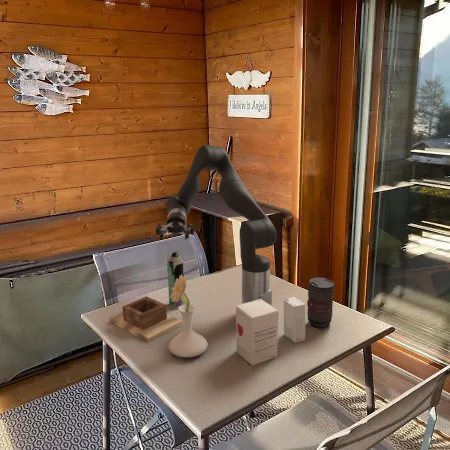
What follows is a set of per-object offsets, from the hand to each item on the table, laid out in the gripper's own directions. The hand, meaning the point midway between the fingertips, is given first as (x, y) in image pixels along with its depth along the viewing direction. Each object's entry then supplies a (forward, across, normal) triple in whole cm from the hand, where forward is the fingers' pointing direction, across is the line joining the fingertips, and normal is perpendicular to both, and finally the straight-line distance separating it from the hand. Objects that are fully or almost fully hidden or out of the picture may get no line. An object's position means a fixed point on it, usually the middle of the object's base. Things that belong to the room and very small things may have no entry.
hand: (174, 237), depth 170 cm
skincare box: (+36, +38, +18) cm, 56 cm away
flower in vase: (+42, +6, +18) cm, 47 cm away
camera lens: (+29, +48, +19) cm, 59 cm away
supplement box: (+45, +26, +18) cm, 55 cm away
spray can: (+12, +1, +22) cm, 24 cm away
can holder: (+24, -9, +20) cm, 33 cm away
